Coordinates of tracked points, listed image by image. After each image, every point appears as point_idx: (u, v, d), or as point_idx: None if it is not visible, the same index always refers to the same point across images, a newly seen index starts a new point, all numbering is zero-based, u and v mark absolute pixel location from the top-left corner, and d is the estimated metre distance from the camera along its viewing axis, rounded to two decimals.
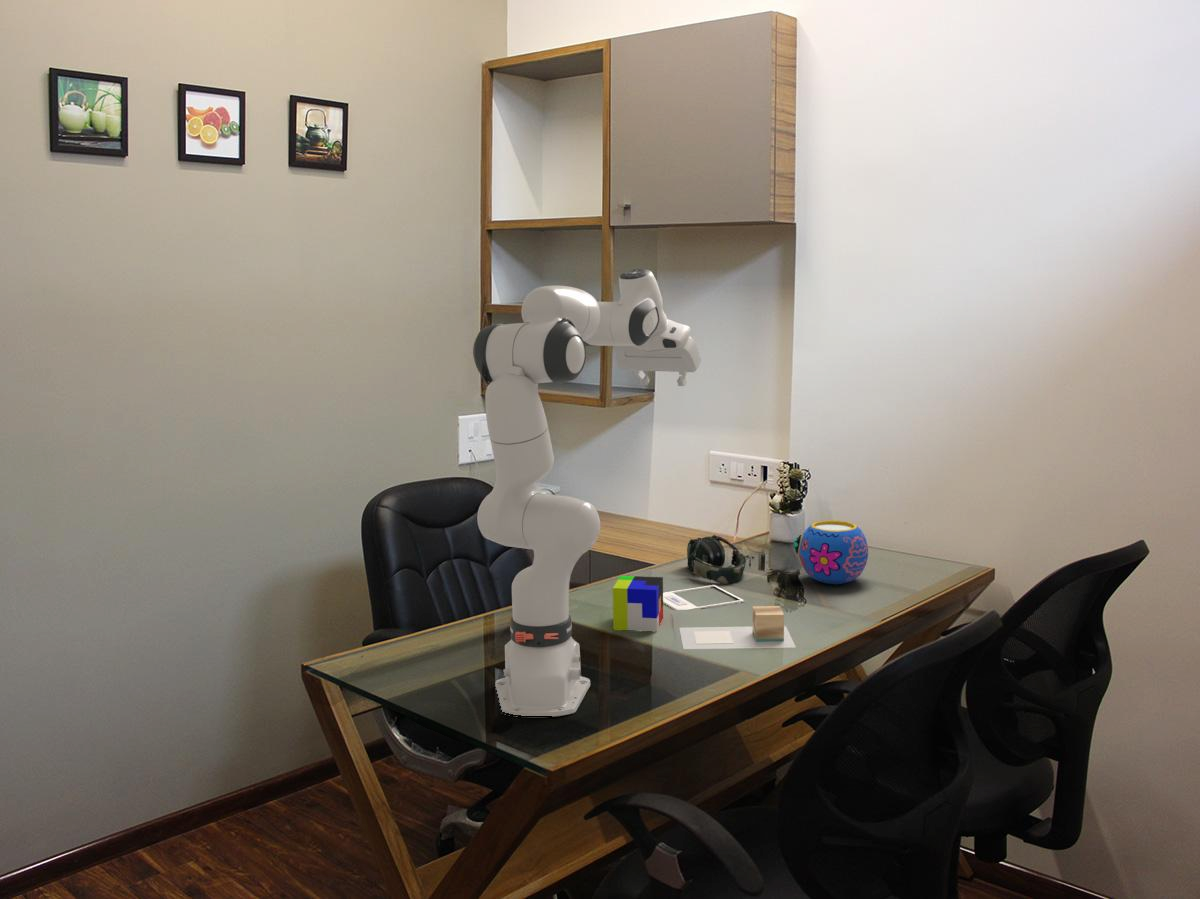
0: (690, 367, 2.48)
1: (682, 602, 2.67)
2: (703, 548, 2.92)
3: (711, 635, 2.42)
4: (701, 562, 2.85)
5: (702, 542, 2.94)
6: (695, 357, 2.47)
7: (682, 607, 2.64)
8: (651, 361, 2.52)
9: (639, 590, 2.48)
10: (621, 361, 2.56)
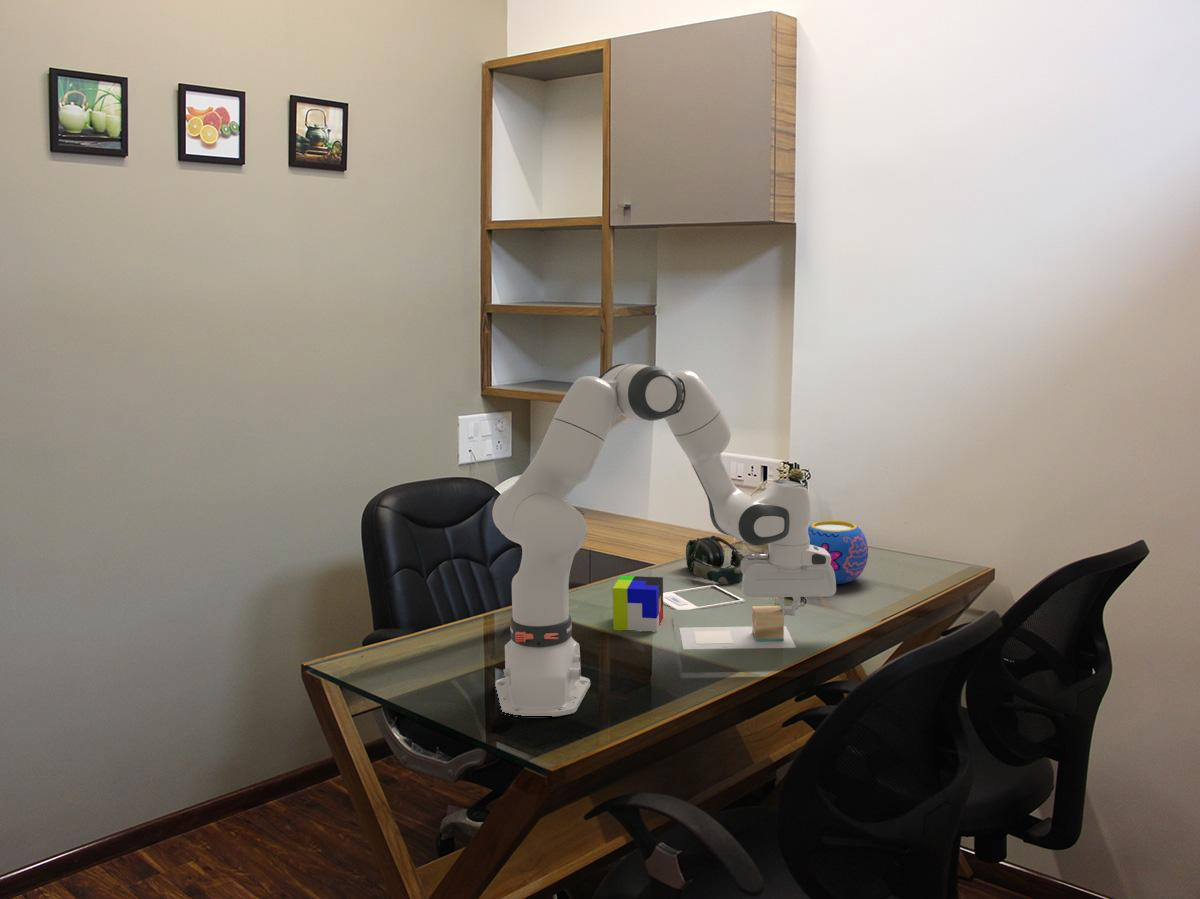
0: (831, 589, 2.37)
1: (682, 602, 2.67)
2: (702, 549, 2.91)
3: (711, 635, 2.42)
4: (701, 563, 2.85)
5: (701, 543, 2.93)
6: None
7: (683, 607, 2.64)
8: (786, 585, 2.37)
9: (639, 590, 2.48)
10: (750, 585, 2.37)
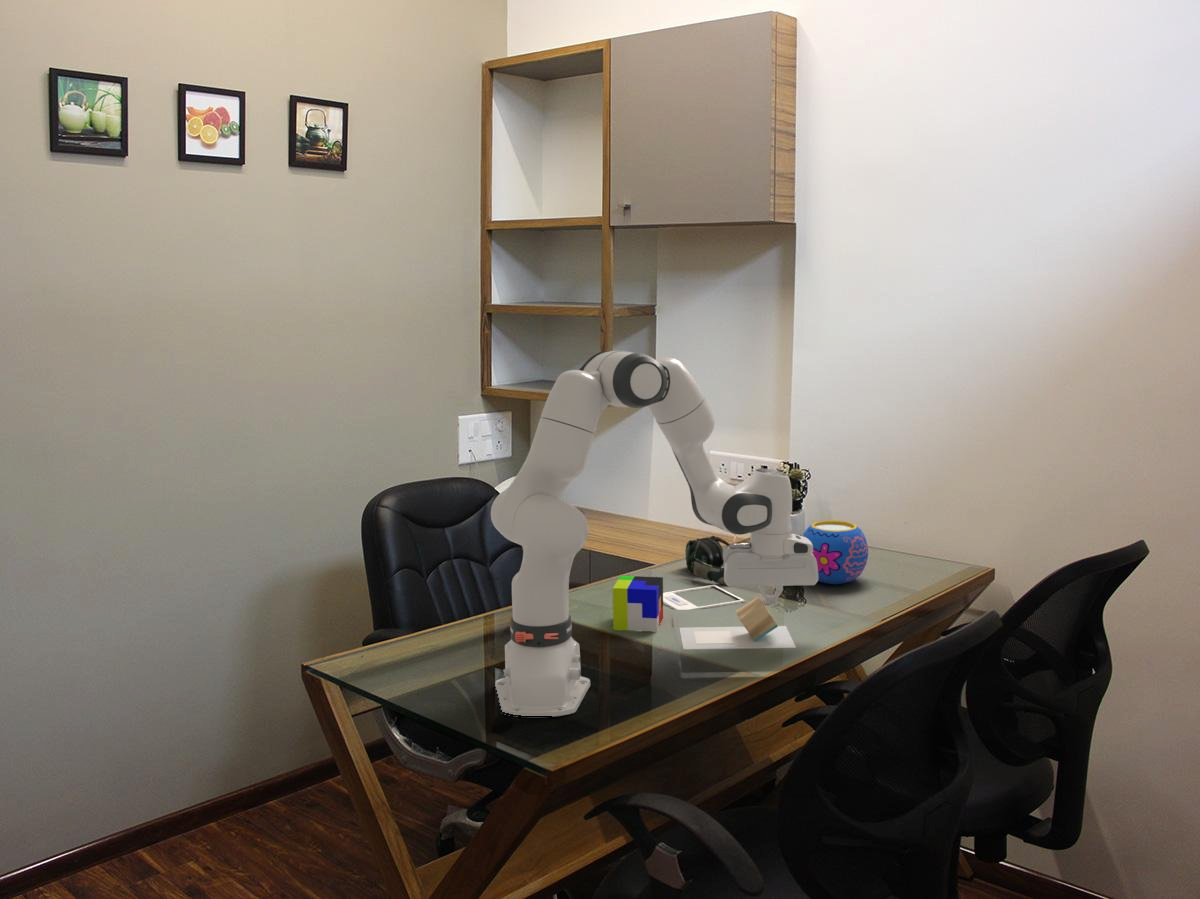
0: (813, 578, 2.37)
1: (682, 602, 2.67)
2: (702, 549, 2.91)
3: (711, 635, 2.42)
4: (701, 563, 2.84)
5: (701, 543, 2.93)
6: None
7: (683, 607, 2.64)
8: (768, 574, 2.37)
9: (639, 590, 2.48)
10: (732, 574, 2.37)
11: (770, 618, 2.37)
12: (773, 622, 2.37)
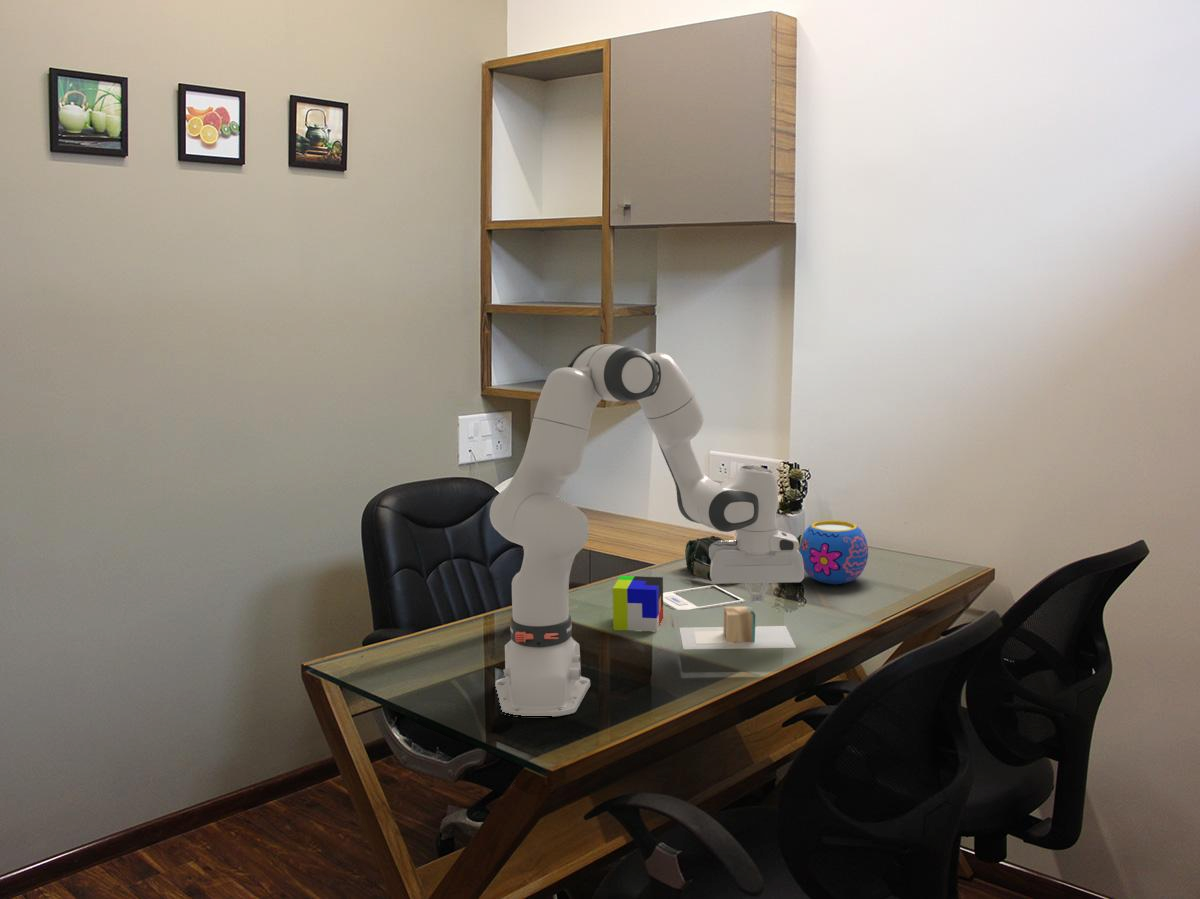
0: (799, 575, 2.37)
1: (683, 602, 2.67)
2: (702, 549, 2.91)
3: (711, 635, 2.42)
4: (701, 563, 2.84)
5: (701, 543, 2.93)
6: None
7: (683, 607, 2.64)
8: (754, 571, 2.37)
9: (639, 590, 2.48)
10: (718, 571, 2.37)
11: (744, 616, 2.37)
12: (749, 616, 2.37)
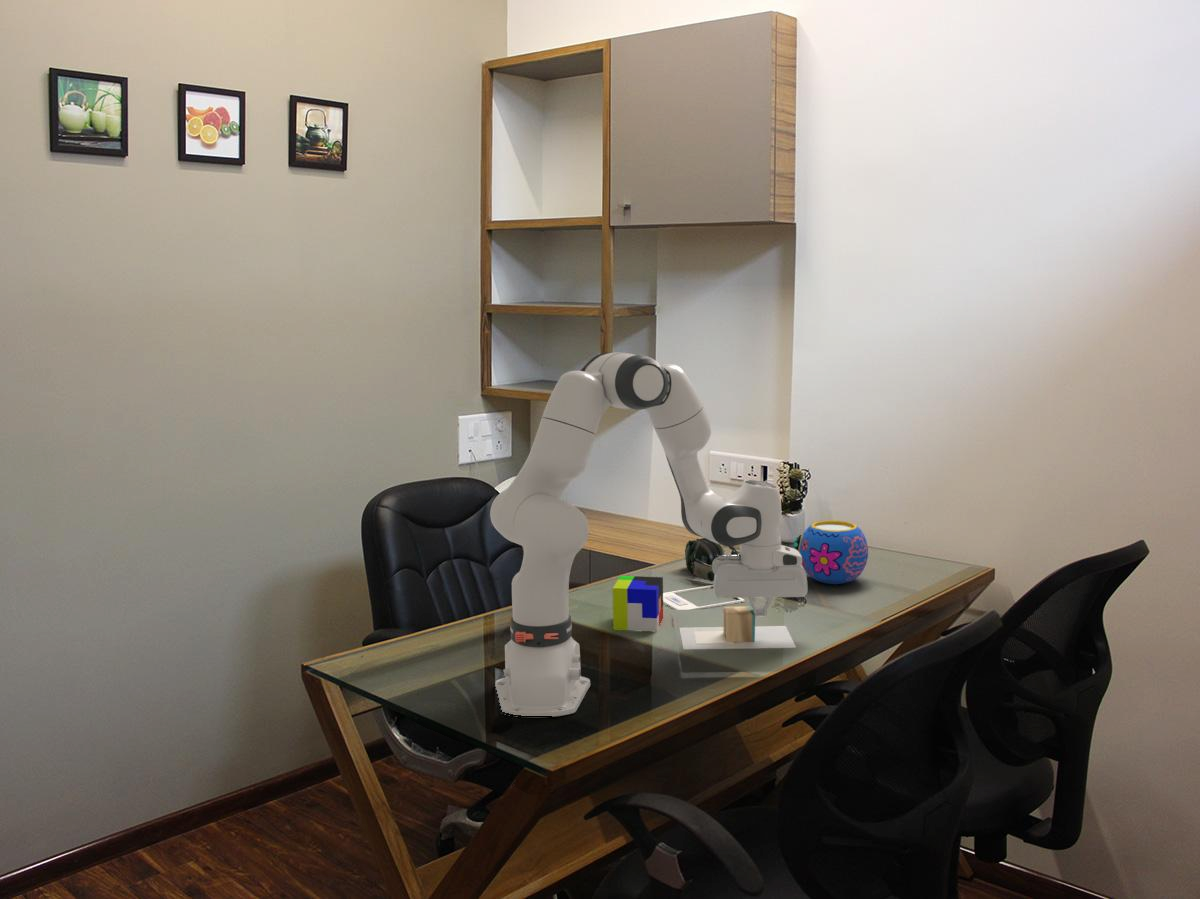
0: (802, 590, 2.37)
1: (683, 602, 2.67)
2: (702, 549, 2.91)
3: (711, 635, 2.42)
4: (702, 563, 2.84)
5: (701, 543, 2.92)
6: None
7: (683, 607, 2.64)
8: (757, 585, 2.37)
9: (639, 590, 2.48)
10: (721, 586, 2.37)
11: (743, 616, 2.37)
12: (748, 616, 2.37)
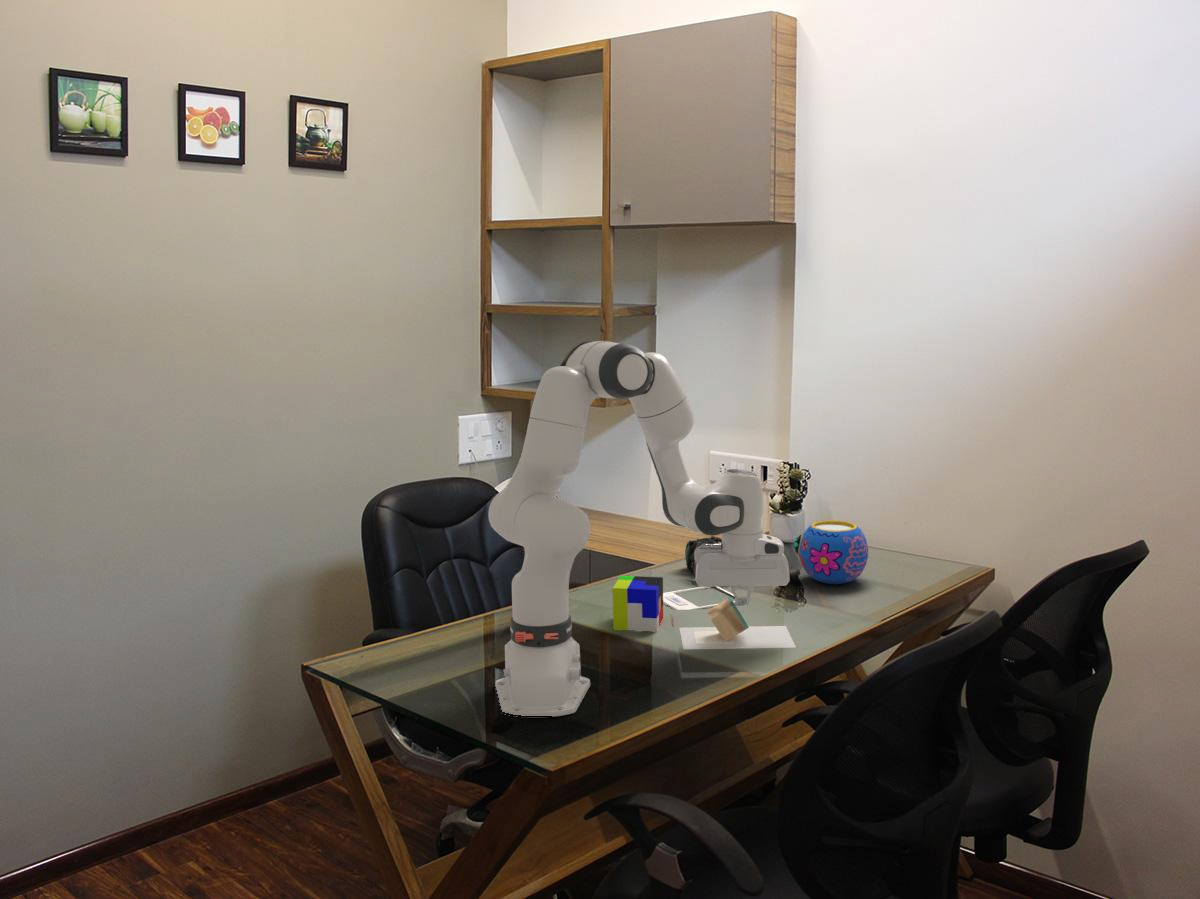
0: (784, 579, 2.37)
1: (683, 602, 2.67)
2: None
3: (711, 635, 2.42)
4: None
5: (701, 543, 2.92)
6: None
7: (683, 607, 2.64)
8: (739, 574, 2.37)
9: (639, 590, 2.48)
10: (703, 575, 2.37)
11: (725, 612, 2.37)
12: (730, 609, 2.37)
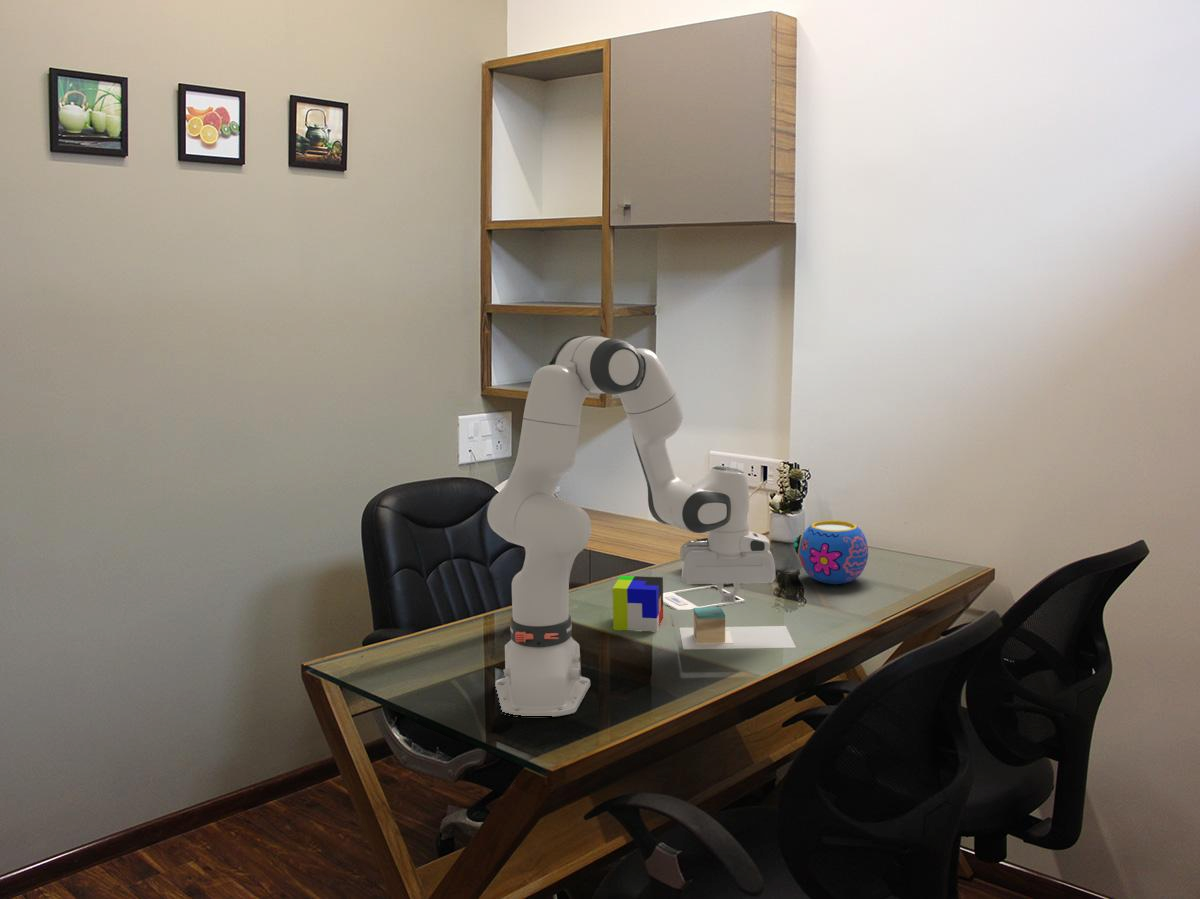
0: (770, 576, 2.37)
1: (683, 602, 2.67)
2: None
3: None
4: None
5: None
6: None
7: (683, 607, 2.64)
8: (725, 571, 2.37)
9: (639, 590, 2.48)
10: (689, 572, 2.37)
11: (699, 627, 2.37)
12: (698, 622, 2.37)
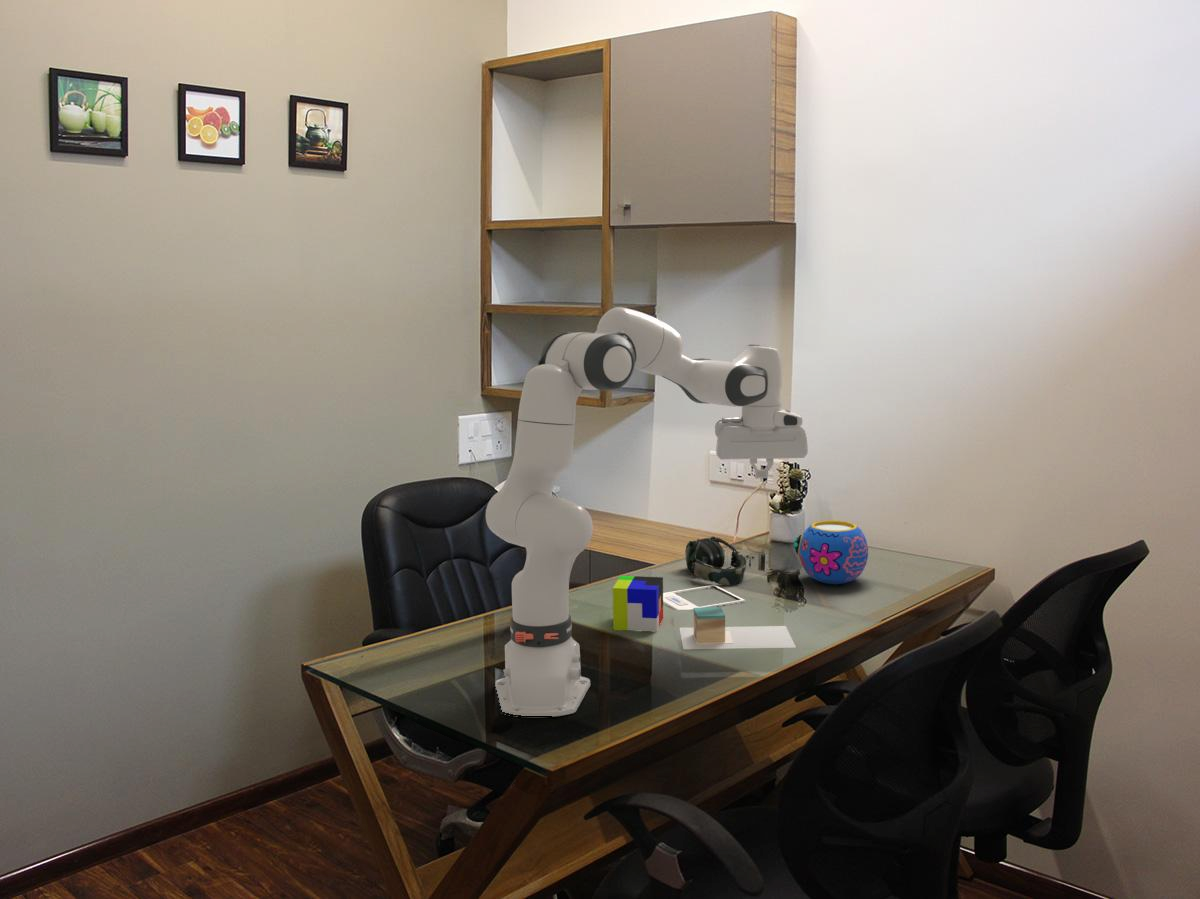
0: (803, 451, 2.44)
1: (683, 602, 2.67)
2: (703, 550, 2.90)
3: None
4: (702, 564, 2.84)
5: (701, 544, 2.92)
6: None
7: (684, 607, 2.64)
8: (759, 446, 2.44)
9: (639, 590, 2.48)
10: (724, 447, 2.44)
11: (699, 627, 2.37)
12: (698, 622, 2.37)
